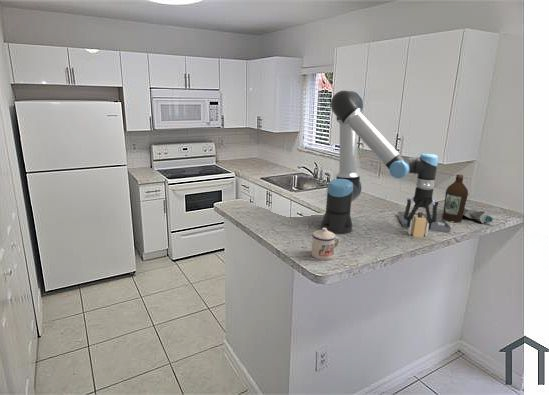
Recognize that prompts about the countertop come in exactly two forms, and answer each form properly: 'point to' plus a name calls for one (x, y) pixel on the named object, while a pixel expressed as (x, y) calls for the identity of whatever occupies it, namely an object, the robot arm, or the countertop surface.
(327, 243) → the teacup with lid
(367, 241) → the countertop surface
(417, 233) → the plug
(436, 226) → the socket plate
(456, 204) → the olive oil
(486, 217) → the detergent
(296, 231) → the countertop surface
